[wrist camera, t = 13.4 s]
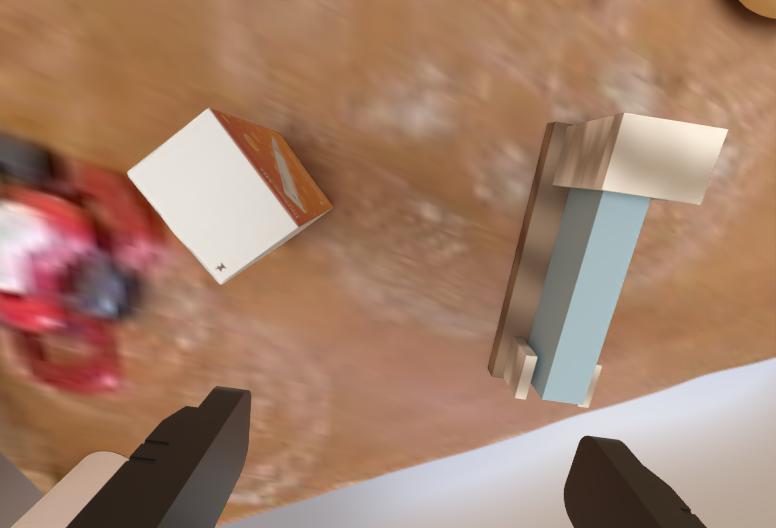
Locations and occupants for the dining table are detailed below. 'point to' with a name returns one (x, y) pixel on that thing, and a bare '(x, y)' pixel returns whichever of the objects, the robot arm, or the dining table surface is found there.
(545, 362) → the slat
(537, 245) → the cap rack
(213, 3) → the dining table surface
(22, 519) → the cylindrical container
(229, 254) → the small box
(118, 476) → the robot arm
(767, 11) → the yellow clay lump
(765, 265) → the dining table surface
